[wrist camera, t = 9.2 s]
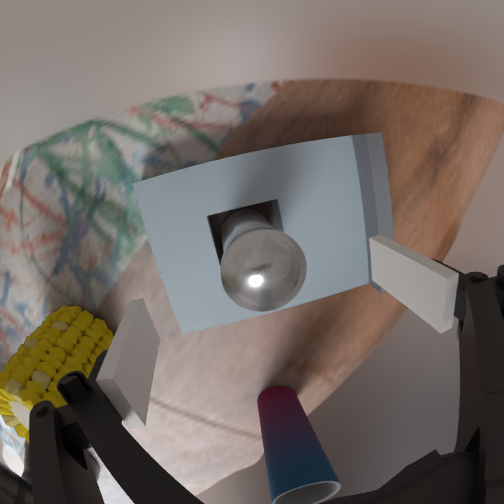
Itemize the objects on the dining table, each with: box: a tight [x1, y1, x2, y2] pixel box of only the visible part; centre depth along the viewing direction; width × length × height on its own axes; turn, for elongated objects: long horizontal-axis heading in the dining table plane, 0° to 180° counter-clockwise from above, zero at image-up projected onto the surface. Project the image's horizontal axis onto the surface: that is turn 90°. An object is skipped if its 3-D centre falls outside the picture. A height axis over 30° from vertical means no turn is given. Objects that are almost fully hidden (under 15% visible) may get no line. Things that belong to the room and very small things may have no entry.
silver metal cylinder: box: [220, 209, 307, 312], centre depth 22 cm, size 5×5×10 cm
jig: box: [133, 132, 394, 334], centre depth 24 cm, size 20×14×5 cm
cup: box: [257, 386, 341, 504], centre depth 27 cm, size 7×7×15 cm
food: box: [0, 305, 114, 443], centre depth 21 cm, size 15×12×10 cm
